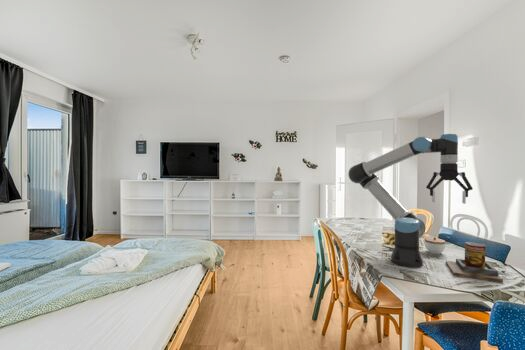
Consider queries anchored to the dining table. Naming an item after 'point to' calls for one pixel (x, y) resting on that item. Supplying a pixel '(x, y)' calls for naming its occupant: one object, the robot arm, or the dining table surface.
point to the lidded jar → (435, 245)
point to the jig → (473, 271)
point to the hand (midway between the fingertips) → (448, 202)
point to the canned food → (475, 255)
